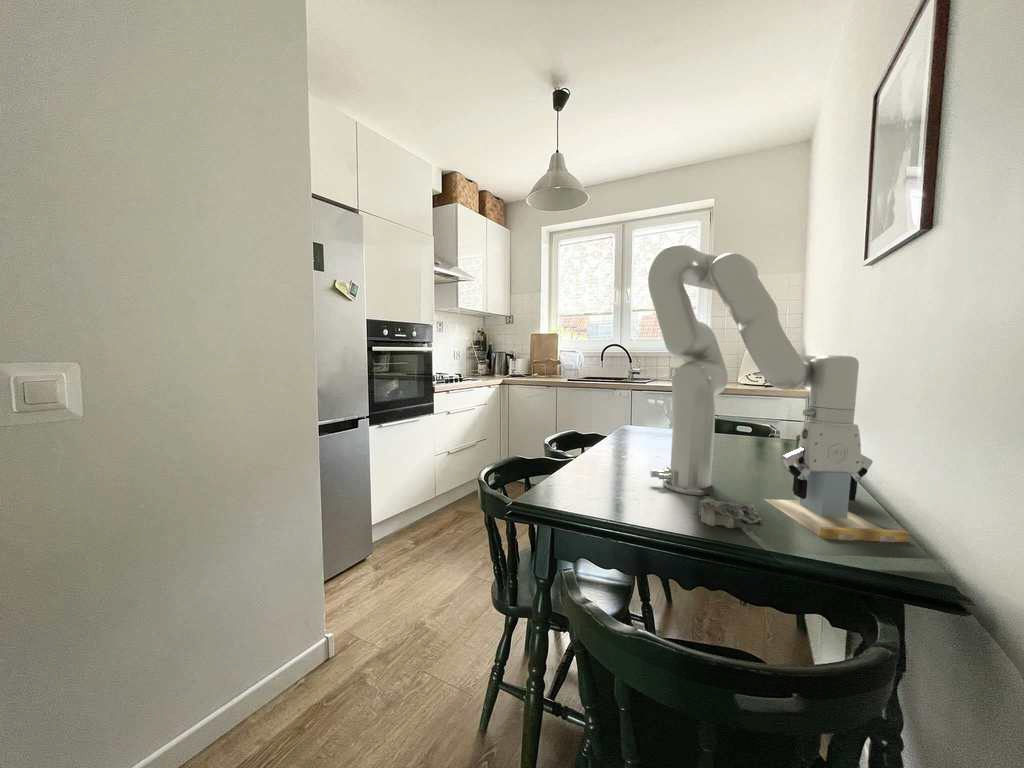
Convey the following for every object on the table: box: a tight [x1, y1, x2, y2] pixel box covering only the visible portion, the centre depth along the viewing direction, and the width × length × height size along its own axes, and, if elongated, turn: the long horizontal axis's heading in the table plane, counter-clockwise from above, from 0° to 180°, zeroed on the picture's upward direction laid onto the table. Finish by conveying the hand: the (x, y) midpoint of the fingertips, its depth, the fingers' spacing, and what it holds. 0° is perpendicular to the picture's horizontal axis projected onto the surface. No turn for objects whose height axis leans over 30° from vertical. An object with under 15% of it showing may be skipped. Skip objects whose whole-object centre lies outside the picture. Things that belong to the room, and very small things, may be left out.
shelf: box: [763, 498, 910, 543], centre depth 86 cm, size 14×20×3 cm
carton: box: [799, 471, 851, 518], centre depth 89 cm, size 5×7×9 cm
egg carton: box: [698, 498, 762, 532], centre depth 86 cm, size 11×8×4 cm
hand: (823, 497), depth 89 cm, fingers open, 9 cm apart
